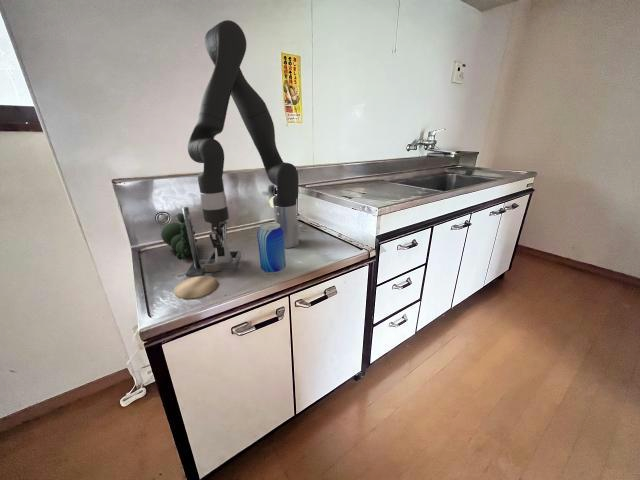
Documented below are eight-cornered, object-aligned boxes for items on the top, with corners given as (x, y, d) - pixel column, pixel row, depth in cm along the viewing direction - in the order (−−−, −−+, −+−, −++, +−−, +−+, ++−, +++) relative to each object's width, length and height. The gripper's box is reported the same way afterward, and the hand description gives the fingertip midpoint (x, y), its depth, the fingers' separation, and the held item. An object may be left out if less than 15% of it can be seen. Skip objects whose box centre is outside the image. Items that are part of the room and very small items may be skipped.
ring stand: (241, 260, 97) (234, 202, 88) (237, 273, 88) (228, 210, 79) (195, 263, 95) (182, 204, 87) (185, 277, 86) (170, 212, 77)
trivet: (221, 276, 86) (221, 274, 86) (212, 297, 75) (211, 295, 75) (182, 278, 85) (182, 277, 85) (167, 300, 74) (167, 298, 74)
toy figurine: (207, 262, 99) (183, 239, 115) (200, 215, 91) (175, 197, 107) (181, 270, 93) (159, 245, 109) (171, 221, 85) (148, 201, 101)
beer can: (274, 278, 85) (270, 232, 79) (256, 271, 89) (250, 227, 83) (290, 267, 91) (288, 224, 85) (272, 262, 95) (269, 220, 89)
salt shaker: (236, 264, 94) (231, 230, 89) (229, 272, 89) (224, 236, 84) (220, 263, 95) (214, 229, 90) (213, 271, 89) (206, 235, 84)
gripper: (222, 211, 77) (230, 263, 84) (231, 199, 90) (237, 245, 97) (195, 212, 76) (205, 264, 83) (208, 200, 89) (216, 247, 96)
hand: (222, 254), depth 90 cm, fingers closed on salt shaker, 3 cm apart
